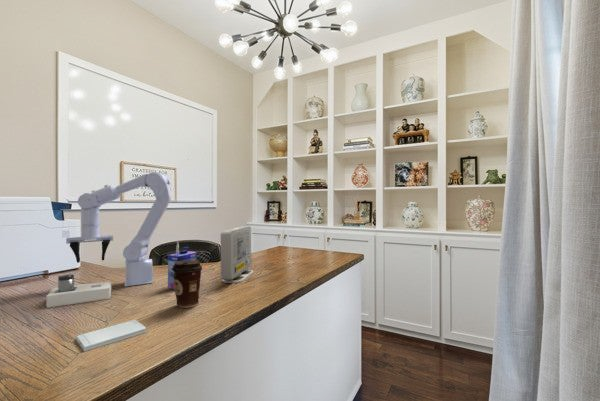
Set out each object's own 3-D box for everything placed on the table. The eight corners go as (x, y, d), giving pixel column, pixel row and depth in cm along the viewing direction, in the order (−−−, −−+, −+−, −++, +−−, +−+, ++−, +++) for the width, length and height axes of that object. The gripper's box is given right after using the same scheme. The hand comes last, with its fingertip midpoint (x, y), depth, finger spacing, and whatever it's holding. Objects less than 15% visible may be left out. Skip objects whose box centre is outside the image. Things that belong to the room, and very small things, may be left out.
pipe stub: (75, 297, 99) (75, 273, 99) (72, 301, 96) (72, 276, 96) (60, 299, 97) (59, 275, 97) (57, 303, 94) (56, 278, 94)
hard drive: (135, 318, 77) (76, 334, 68) (146, 327, 72) (84, 346, 63) (135, 325, 77) (76, 342, 68) (147, 334, 72) (84, 354, 63)
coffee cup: (173, 311, 85) (172, 266, 85) (170, 303, 92) (170, 261, 92) (204, 306, 89) (204, 262, 89) (200, 298, 96) (199, 258, 97)
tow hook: (178, 264, 153) (168, 267, 144) (179, 239, 154) (168, 240, 145) (194, 264, 152) (184, 268, 143) (194, 239, 153) (184, 240, 144)
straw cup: (178, 290, 106) (178, 249, 106) (166, 288, 108) (166, 248, 108) (197, 283, 115) (197, 245, 115) (186, 281, 117) (186, 244, 117)
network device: (238, 269, 138) (238, 226, 138) (257, 269, 136) (256, 226, 136) (215, 285, 112) (214, 231, 112) (237, 285, 111) (237, 231, 111)
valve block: (111, 290, 106) (111, 281, 106) (109, 298, 98) (109, 287, 98) (53, 298, 99) (53, 288, 99) (46, 307, 90) (46, 296, 90)
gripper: (113, 223, 121) (113, 257, 121) (68, 225, 113) (68, 261, 113) (112, 224, 114) (113, 260, 114) (64, 226, 107) (65, 264, 107)
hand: (90, 261), depth 113 cm, fingers open, 7 cm apart
